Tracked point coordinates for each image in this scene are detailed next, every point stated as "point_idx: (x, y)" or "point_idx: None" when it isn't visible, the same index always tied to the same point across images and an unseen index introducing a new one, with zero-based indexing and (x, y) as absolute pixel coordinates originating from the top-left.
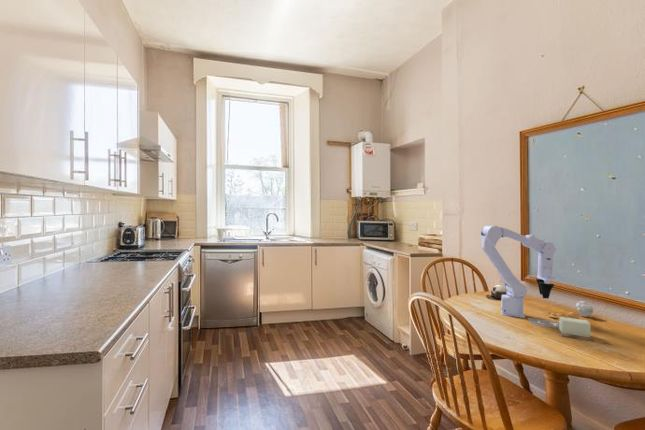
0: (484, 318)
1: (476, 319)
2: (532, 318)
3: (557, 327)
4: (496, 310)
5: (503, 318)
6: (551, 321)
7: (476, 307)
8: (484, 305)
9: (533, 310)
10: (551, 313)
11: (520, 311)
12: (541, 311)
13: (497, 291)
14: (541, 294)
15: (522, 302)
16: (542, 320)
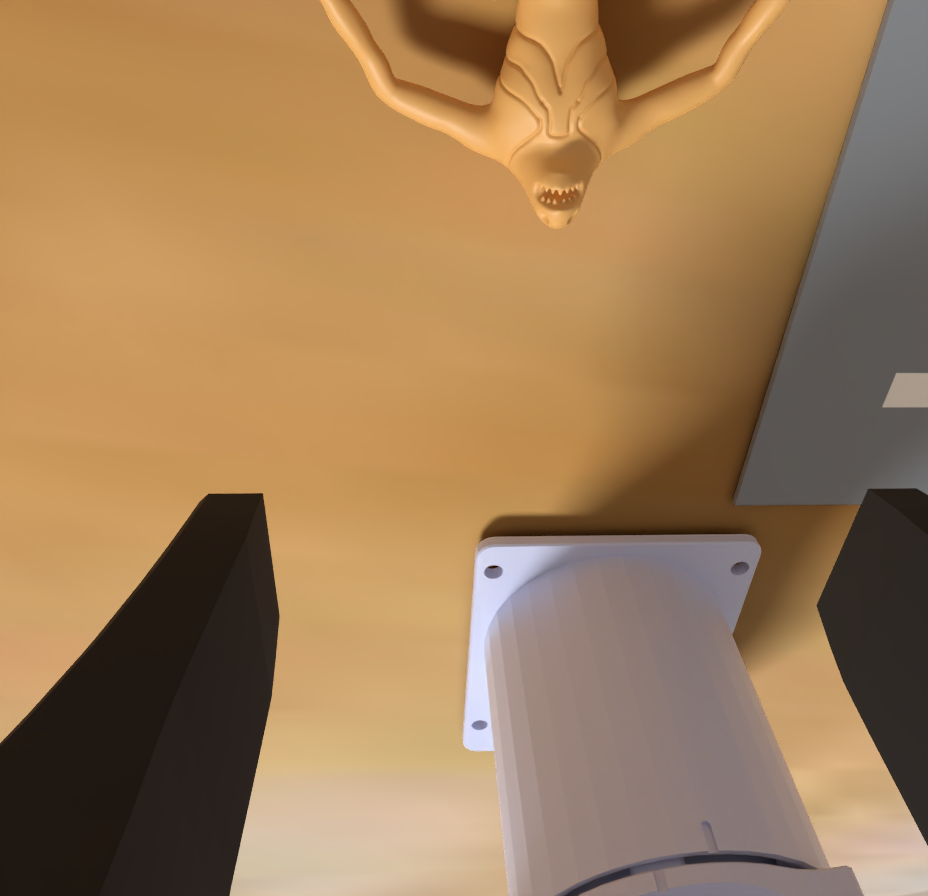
0: (874, 830)
1: (924, 866)
2: (755, 449)
3: None
4: (465, 766)
5: (829, 718)
6: (876, 170)
7: (439, 888)
8: (280, 849)
9: (71, 355)
10: (589, 138)
11: (734, 647)
12: (28, 209)
13: None
14: (272, 592)
15: (776, 772)
16: (845, 321)
